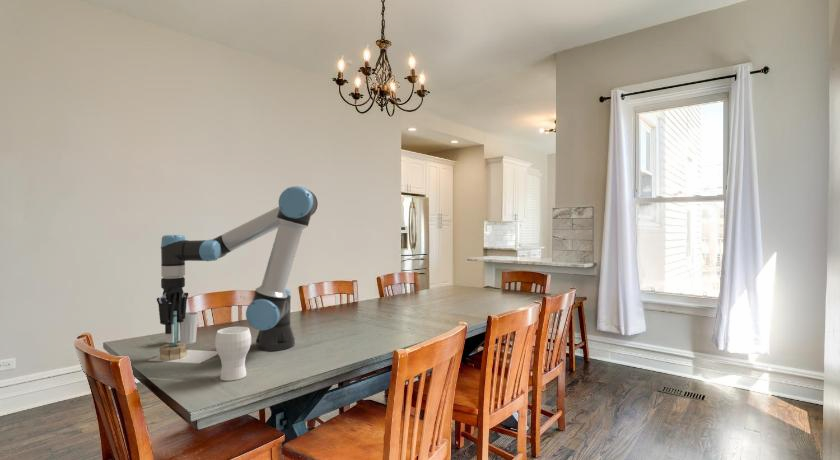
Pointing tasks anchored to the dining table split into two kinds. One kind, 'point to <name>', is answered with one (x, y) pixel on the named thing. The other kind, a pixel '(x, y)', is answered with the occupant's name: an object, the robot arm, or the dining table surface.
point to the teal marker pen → (174, 330)
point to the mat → (192, 357)
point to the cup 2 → (233, 351)
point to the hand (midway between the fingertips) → (173, 341)
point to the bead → (173, 352)
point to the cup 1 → (189, 328)
